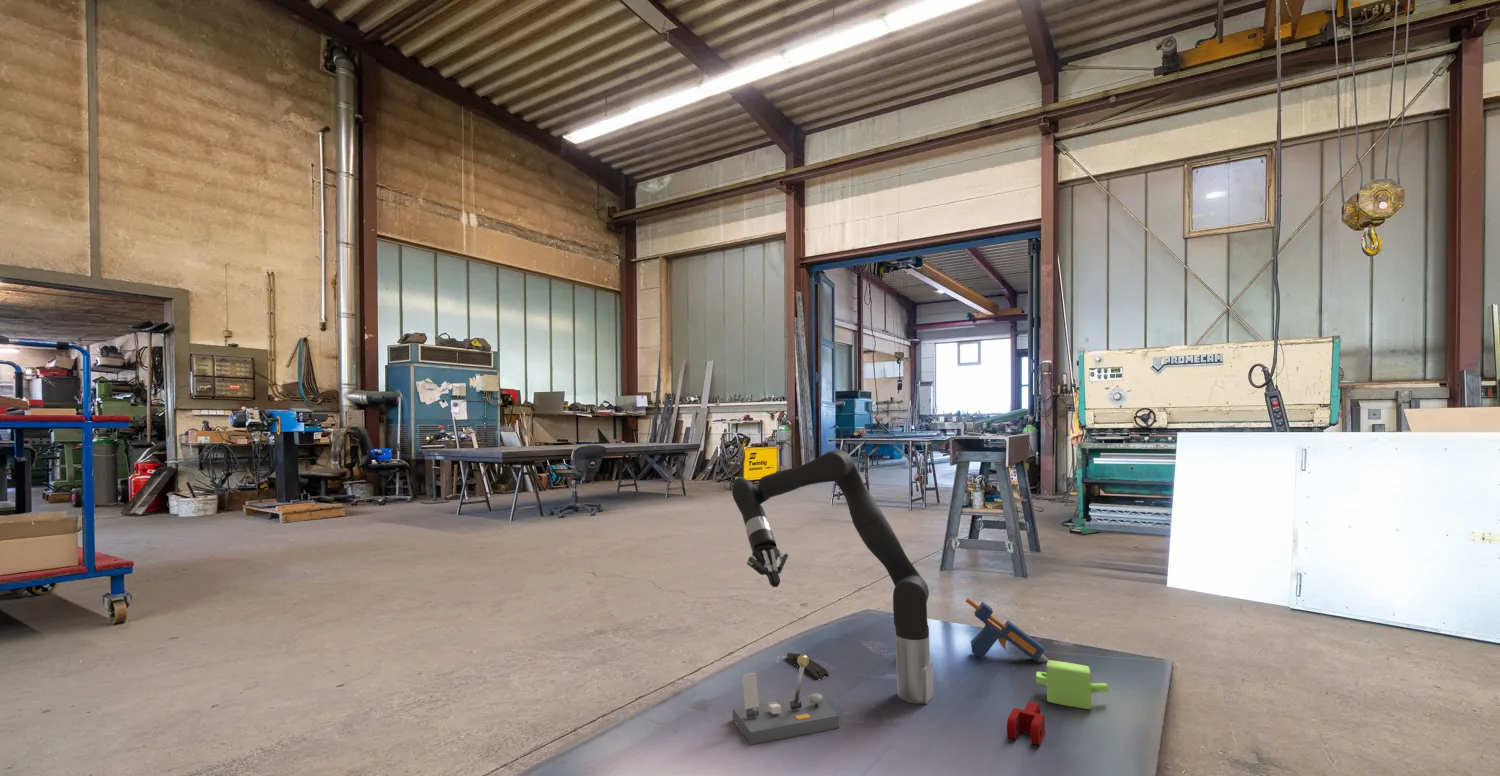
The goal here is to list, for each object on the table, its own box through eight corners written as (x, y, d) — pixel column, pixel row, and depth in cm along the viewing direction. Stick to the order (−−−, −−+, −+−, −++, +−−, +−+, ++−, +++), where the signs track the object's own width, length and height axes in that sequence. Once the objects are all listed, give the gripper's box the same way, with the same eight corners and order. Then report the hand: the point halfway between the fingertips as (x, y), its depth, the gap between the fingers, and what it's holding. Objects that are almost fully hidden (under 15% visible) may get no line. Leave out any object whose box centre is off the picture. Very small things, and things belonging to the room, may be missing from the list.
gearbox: (1108, 701, 177) (1107, 666, 178) (1110, 714, 168) (1109, 676, 169) (1037, 688, 185) (1036, 655, 186) (1035, 700, 176) (1035, 664, 177)
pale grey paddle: (744, 717, 162) (741, 674, 165) (758, 714, 163) (754, 672, 166) (747, 718, 160) (743, 675, 163) (760, 715, 162) (756, 673, 165)
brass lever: (787, 704, 167) (796, 652, 162) (798, 702, 168) (807, 650, 163) (791, 712, 165) (800, 660, 160) (802, 711, 166) (811, 659, 161)
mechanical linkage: (1038, 749, 151) (1038, 727, 151) (1007, 741, 155) (1006, 719, 155) (1050, 722, 164) (1050, 702, 164) (1021, 715, 168) (1020, 696, 168)
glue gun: (1027, 694, 205) (1056, 658, 203) (945, 633, 210) (972, 598, 208) (1023, 685, 211) (1051, 650, 209) (944, 627, 216) (970, 592, 214)
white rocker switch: (767, 710, 165) (767, 702, 166) (776, 709, 166) (775, 701, 166) (772, 714, 162) (772, 706, 162) (781, 712, 163) (780, 704, 163)
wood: (837, 678, 195) (837, 668, 195) (817, 683, 192) (817, 672, 192) (801, 656, 215) (801, 646, 215) (782, 659, 212) (782, 650, 212)
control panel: (732, 720, 167) (732, 707, 168) (815, 705, 176) (815, 693, 176) (751, 744, 154) (750, 731, 154) (839, 727, 162) (839, 714, 163)
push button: (808, 704, 169) (808, 694, 169) (819, 702, 170) (819, 692, 170) (813, 709, 166) (813, 699, 166) (824, 707, 167) (824, 697, 167)
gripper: (742, 529, 189) (757, 580, 176) (783, 526, 193) (801, 575, 181) (736, 544, 193) (751, 595, 181) (777, 541, 198) (793, 590, 186)
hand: (776, 585), depth 181 cm, fingers closed
